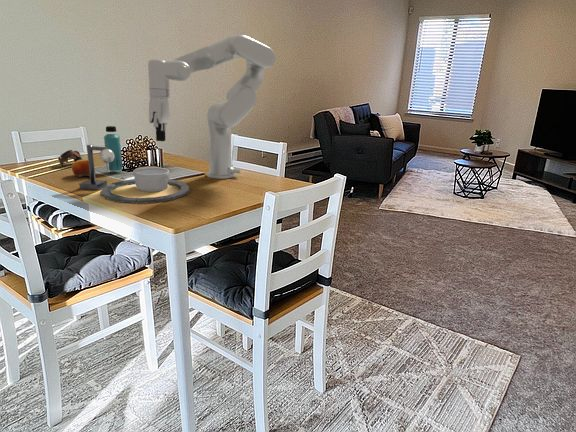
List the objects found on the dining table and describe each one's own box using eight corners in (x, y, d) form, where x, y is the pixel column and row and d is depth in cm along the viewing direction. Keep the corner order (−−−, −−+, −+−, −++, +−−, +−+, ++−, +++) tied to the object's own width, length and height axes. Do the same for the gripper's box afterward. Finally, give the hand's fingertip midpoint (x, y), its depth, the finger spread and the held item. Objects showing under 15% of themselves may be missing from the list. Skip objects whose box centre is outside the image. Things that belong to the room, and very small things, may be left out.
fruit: (77, 176, 166) (72, 157, 167) (73, 182, 172) (68, 164, 173) (98, 174, 171) (93, 156, 172) (93, 180, 178) (89, 162, 178)
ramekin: (175, 185, 166) (175, 168, 164) (159, 194, 154) (158, 175, 152) (146, 182, 169) (144, 165, 166) (127, 190, 156) (125, 172, 154)
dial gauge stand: (120, 186, 161) (117, 145, 156) (111, 191, 154) (107, 148, 149) (90, 184, 162) (85, 143, 157) (79, 188, 155) (74, 146, 150)
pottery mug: (82, 169, 187) (70, 154, 182) (65, 177, 188) (52, 162, 183) (90, 157, 197) (78, 142, 192) (73, 165, 198) (61, 150, 193)
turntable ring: (199, 183, 170) (199, 180, 169) (171, 206, 141) (171, 202, 140) (126, 178, 172) (126, 175, 172) (84, 199, 143) (84, 195, 143)
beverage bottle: (117, 174, 178) (113, 127, 171) (103, 173, 179) (99, 126, 172) (126, 171, 184) (122, 126, 177) (112, 170, 185) (108, 124, 178)
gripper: (157, 92, 169) (159, 137, 174) (141, 93, 154) (143, 142, 160) (175, 93, 168) (176, 139, 174) (161, 94, 154) (162, 144, 160)
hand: (160, 140), depth 167 cm, fingers closed
